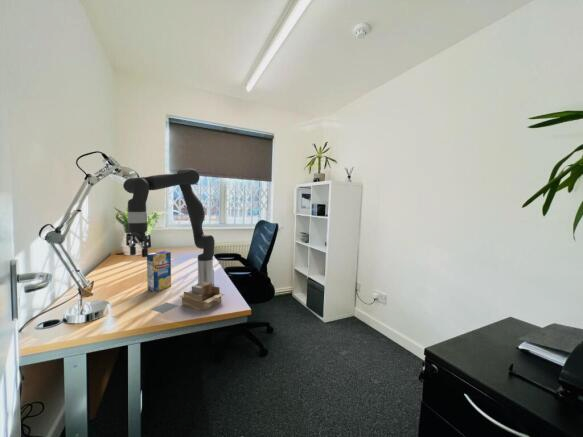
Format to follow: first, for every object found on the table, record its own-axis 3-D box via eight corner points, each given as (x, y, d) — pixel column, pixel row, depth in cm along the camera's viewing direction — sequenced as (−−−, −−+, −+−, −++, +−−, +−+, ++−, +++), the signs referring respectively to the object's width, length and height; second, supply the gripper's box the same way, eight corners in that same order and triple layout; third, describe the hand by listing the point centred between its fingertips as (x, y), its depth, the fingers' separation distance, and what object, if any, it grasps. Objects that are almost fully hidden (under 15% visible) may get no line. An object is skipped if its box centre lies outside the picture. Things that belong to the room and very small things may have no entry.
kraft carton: (198, 296, 131) (198, 282, 131) (224, 302, 124) (224, 288, 123) (178, 305, 119) (178, 290, 119) (206, 313, 112) (206, 297, 111)
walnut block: (204, 299, 127) (204, 281, 126) (211, 300, 125) (211, 282, 124) (191, 305, 118) (191, 286, 118) (199, 307, 116) (199, 288, 116)
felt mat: (166, 303, 122) (166, 302, 122) (178, 306, 118) (178, 305, 118) (150, 310, 113) (150, 309, 113) (162, 314, 110) (162, 313, 110)
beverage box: (147, 289, 140) (146, 254, 139) (164, 284, 150) (164, 251, 148) (153, 291, 137) (153, 255, 135) (171, 286, 146) (170, 252, 145)
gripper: (155, 221, 107) (156, 255, 108) (136, 220, 112) (137, 252, 114) (139, 223, 100) (140, 259, 101) (119, 221, 106) (120, 256, 107)
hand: (138, 255), depth 107 cm, fingers open, 8 cm apart
